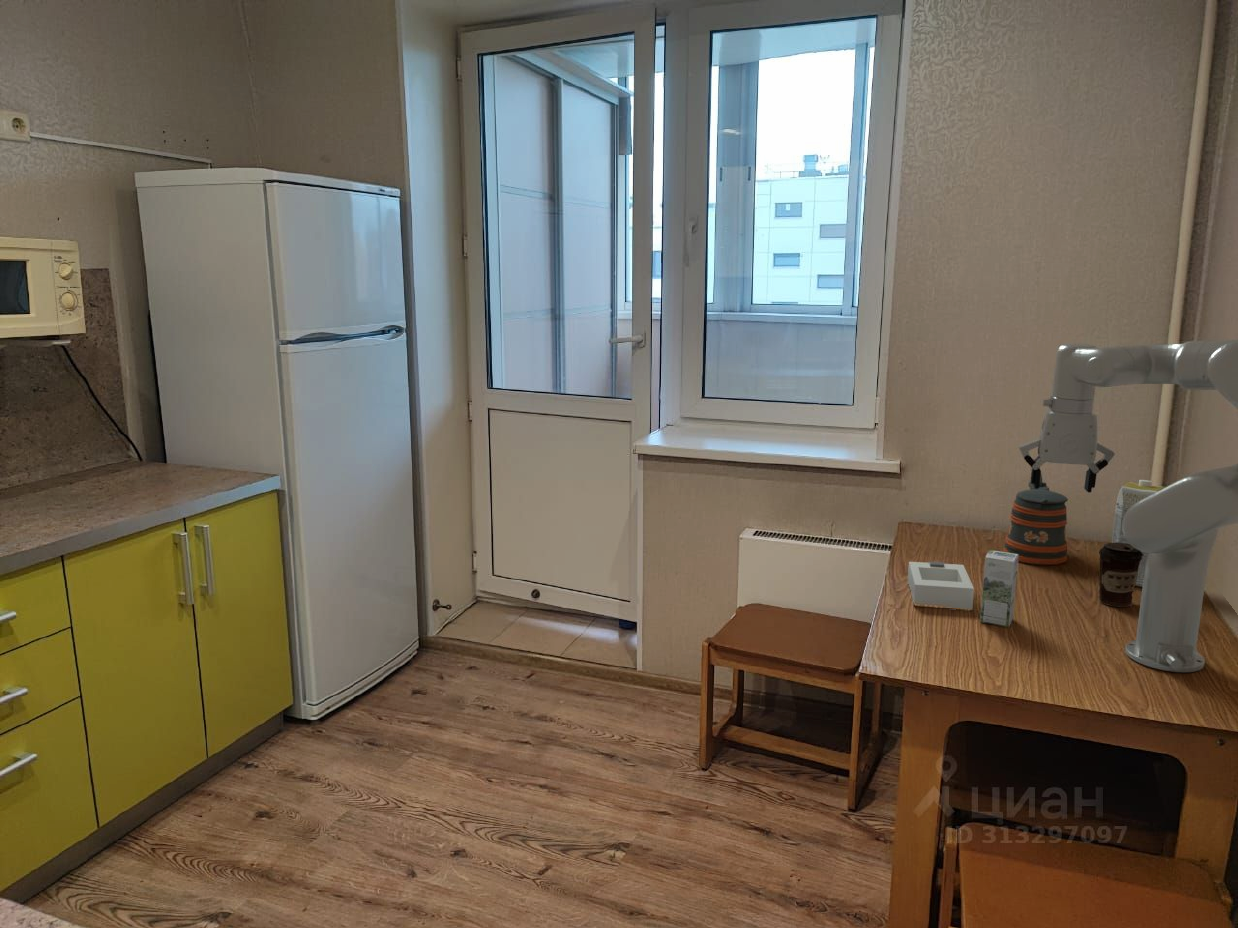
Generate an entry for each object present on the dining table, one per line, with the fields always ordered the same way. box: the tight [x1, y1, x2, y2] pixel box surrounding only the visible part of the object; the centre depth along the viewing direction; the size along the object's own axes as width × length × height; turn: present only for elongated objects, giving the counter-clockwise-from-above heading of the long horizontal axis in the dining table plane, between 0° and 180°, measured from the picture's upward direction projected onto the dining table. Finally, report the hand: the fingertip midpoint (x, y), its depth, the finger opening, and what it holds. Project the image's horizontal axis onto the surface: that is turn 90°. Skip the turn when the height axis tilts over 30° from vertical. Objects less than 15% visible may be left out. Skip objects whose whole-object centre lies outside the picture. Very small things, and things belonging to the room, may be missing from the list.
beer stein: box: [1002, 474, 1069, 566], centre depth 222 cm, size 19×15×20 cm
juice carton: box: [1111, 479, 1166, 587], centre depth 201 cm, size 9×8×24 cm
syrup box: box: [979, 549, 1019, 628], centre depth 180 cm, size 6×6×14 cm
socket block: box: [907, 560, 975, 610], centre depth 195 cm, size 16×12×6 cm
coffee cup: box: [1098, 542, 1143, 608], centre depth 189 cm, size 9×8×13 cm
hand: (1061, 489), depth 178 cm, fingers open, 9 cm apart
